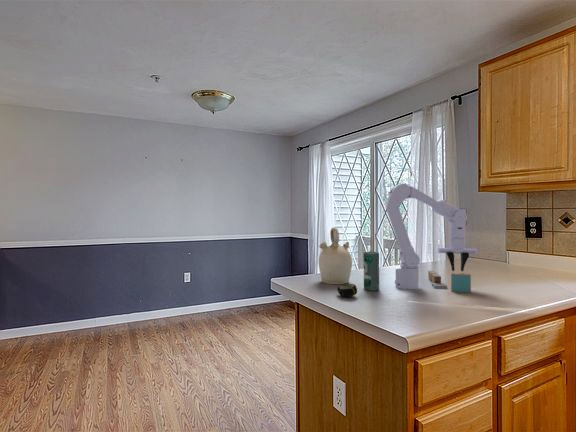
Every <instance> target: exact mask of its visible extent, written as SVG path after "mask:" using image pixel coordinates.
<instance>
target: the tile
mask: <svg viewBox="0 0 576 432" xmlns="http://www.w3.org/2000/svg"><path fill="white" fill-rule="evenodd" d="M449 277H450V278H449V280H450V281H449V286H450V287H449V288H450V289H449V290H450V292H457V293H471V292H472V290H471V289H472V284H471V283H472V279H471V278H472V275H471V273H467V272H466V273H465V272H464V273H463V272H449Z"/></svg>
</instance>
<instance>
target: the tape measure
mask: <svg viewBox="0 0 576 432" xmlns="http://www.w3.org/2000/svg"><path fill="white" fill-rule="evenodd" d="M337 292H338V294H339V295H340V297H343V298H350V297H353V296H355V295H357V294H358V289H357V285H356V284H354V283H346V284H342V285H340V286H337Z"/></svg>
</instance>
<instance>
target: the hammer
mask: <svg viewBox="0 0 576 432" xmlns="http://www.w3.org/2000/svg"><path fill="white" fill-rule="evenodd" d="M427 272H428V278H427V279H428V281H429V282H430V283H431V286H432V287H433V289H441V290H442V289H445V290H447V289H448V285H447V284H446V283H442V276H441V275H440V274H439V273H438V272H436V271H435V270H428V271H427Z"/></svg>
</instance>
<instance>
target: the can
mask: <svg viewBox="0 0 576 432" xmlns="http://www.w3.org/2000/svg"><path fill="white" fill-rule="evenodd" d="M362 253H363V289H364V290H365V291H374V292H375V291H379V290H380V253H379V251H378V252H377V251H364V252H362Z"/></svg>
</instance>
